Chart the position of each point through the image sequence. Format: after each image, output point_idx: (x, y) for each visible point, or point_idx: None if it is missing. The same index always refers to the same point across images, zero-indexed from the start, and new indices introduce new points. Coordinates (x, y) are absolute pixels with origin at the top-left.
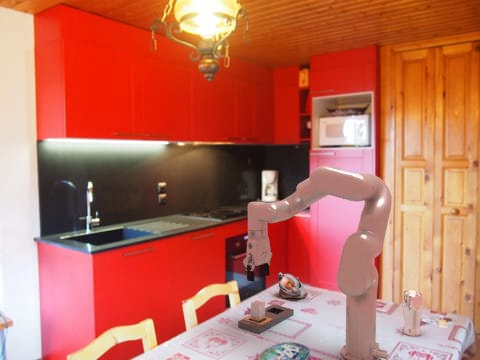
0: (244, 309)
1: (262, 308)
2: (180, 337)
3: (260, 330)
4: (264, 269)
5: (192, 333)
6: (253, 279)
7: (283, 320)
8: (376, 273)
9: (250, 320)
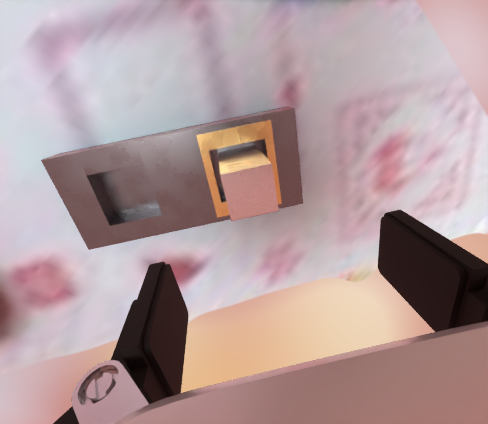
0: None
1: (240, 164)
2: None
3: (281, 109)
4: (175, 339)
5: None
6: (410, 218)
7: (130, 139)
8: None
9: None
